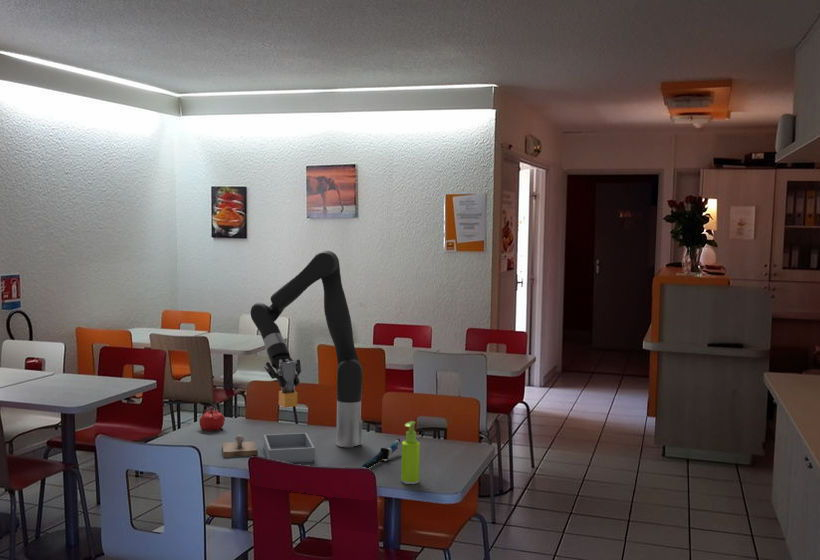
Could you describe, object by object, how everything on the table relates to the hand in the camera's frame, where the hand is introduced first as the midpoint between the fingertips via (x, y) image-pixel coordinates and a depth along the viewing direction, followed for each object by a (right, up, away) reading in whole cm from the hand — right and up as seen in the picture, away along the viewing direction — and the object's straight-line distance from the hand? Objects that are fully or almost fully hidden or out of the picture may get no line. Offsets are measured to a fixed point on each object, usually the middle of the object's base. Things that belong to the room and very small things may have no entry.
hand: (290, 385), depth 278 cm
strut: (-1, -8, +2) cm, 8 cm away
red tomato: (-38, -23, +36) cm, 57 cm away
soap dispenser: (+43, -29, -25) cm, 57 cm away
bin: (-1, -26, +3) cm, 26 cm away
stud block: (-20, -25, +5) cm, 32 cm away
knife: (+32, -27, -5) cm, 42 cm away
